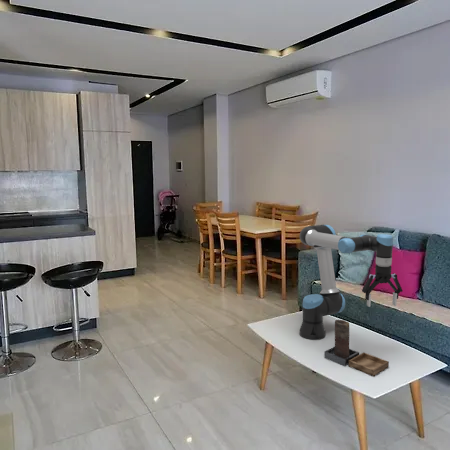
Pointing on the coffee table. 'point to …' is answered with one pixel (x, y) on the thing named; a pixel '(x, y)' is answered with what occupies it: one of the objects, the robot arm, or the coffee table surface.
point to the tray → (368, 364)
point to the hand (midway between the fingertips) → (381, 305)
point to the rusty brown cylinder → (342, 338)
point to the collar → (342, 361)
